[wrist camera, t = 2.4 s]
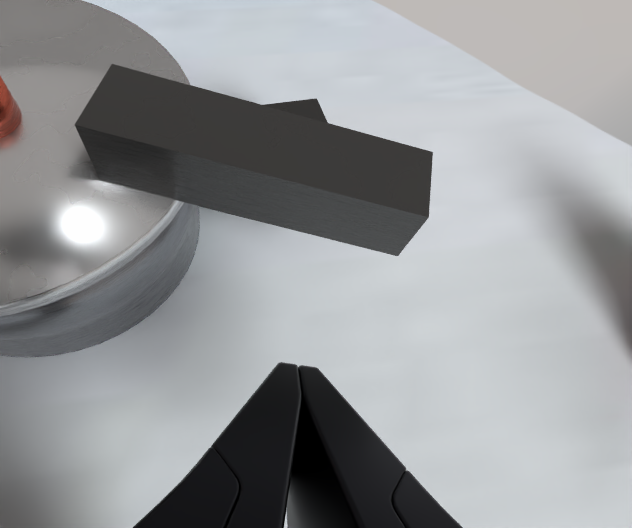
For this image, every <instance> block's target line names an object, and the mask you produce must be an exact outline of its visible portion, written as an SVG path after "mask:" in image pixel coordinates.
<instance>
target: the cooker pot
mask: <svg viewBox="0 0 632 528" xmlns="http://www.w3.org/2000/svg"><path fill="white" fill-rule="evenodd" d="M264 106H267V107H271V108H274V109H278V110H282V111H285V112H289V113H293V114H296V115H300V116H303V117H307V118H311V119H314V120H318V121H322V122H325V123H328V122H327V120H326V118H325V116H324V114H323V111H322V109H321V107H320V105H319V103H318V100H317V99H309V100H300V101H292V102H283V103H275V104H267V105H264ZM199 228H200V222H199V208H198V206H197V205H193V204H189V203H185V202H184V203H183V205H182V206H181V208H180V209H179V211H178V212H177V214H176V215H175V217H174V218H173V219H172V221H171V222H170V224H169V225H168V226H167V227H166V228H165V229H164V230H163V232H162V233H161V234H160V235H159V236H158V237H157V238H156V239H155V240H154V241H153V243H151V244H150V245H149V246H148V247H147V248H146V249H144V250H143V251H142V252H141V253H140V254H139V255H137V256H136V257H135V258H134V259H133V260H132V261H130V262H129V263H127V264H126V265H124V266H123V267H121V268H120V269H118V270H117V271H115V272H114V273H112V274H111V275H109V276H108V277H106V278H104V279H102V280H101V281H99V282H97V283H95V284H93V285H91V286H89V287H87V288H85V289H83V290H82V291H80V292H77V293H75V294H72V295H70V296H67V297H65V298H62V299H60V300H57V301H55V302H52V303H50V304H47V305H44V306H41V307H37V308H34V309H30V310H27V311H23V312H20V313H16V314H12V315H6V316H1V317H0V355H4V356H11V357H41V356H51V355H59V354H64V353H69V352H73V351H78V350H81V349H85V348H88V347H91V346H94V345H97V344H100V343H102V342H104V341H106V340H109V339H111V338H113V337H115V336H118V335H120V334H121V333H123V332H125V331H126V330H128V329H130V328H132V327H133V326H135V325H137V324H138V323H139V322H141V321H142V320H143V319H145V318H146V317H147V316H149V315H150V314H151V313H153V312H154V311H155V310H156V309H157V308H158V307H159V306H160V305H161V304H162V303H163V302H164V301H165V300H166V299H167V298H168V297H169V296H170V295H171V293H172V292H173V291H174V290H175V289H176V287H177V286H178V285H179V283H180V282H181V280H182V278H183V277H184V275H185V274H186V272H187V270H188V268H189V266H190V263H191V261H192V259H193V257H194V253H195V250H196V246H197V243H198V236H199Z"/></svg>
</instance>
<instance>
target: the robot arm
mask: <svg viewBox="0 0 632 528" xmlns="http://www.w3.org/2000/svg"><path fill="white" fill-rule="evenodd" d="M286 507H287V524H288V528H462V527H461V526H460V525H459V524H458V523H457V522H456V521H455V520H454V519H453V518H452V517H451V516H450V515H449V514H448V513H447V512H446V511H445V510H444V509H443V508H442V507H441V506H440V505H439V503H438V502H437V501H436V500H435V499H434V498H433V497H432V496H431V495H430V494H429V493H428V492H427V491H426V489H425V488H424V487H423V486H422V485H421V484H420V483H419V482H418V481H417V479H416V478H415V477H414V476H413V475H412V474H411V473H410V472H409V471H406V467H405V466H404V465H403V464H402V463H401V462H400V461H399V459H398V458H397V457H396V456H395V455H394V454H393V453H392V451H391V450H390V449H389V448H388V447H387V446H386V445H385V444H384V442H383V441H382V440H381V439H380V438H379V437H378V436H377V435H376V433H375V432H374V431H373V430H372V429H371V428H370V427H369V426H368V424H367V423H366V422H365V421H364V420H363V419H362V418H361V416H360V415H359V414H358V413H357V412H356V411H355V410H354V409H353V407H352V406H351V405H350V404H349V403H348V402H347V401H346V400H345V398H344V397H343V396H342V395H341V394H340V393H339V392H338V391H337V389H336V388H335V387H334V386H333V385H332V384H331V383H330V381H329V380H328V379H327V378H326V377H325V376H324V375H323V374H322V372H321V371H320V370H319V369H318V368H316V367H310V366H303V365H301V366H299V367H298V366H297V365H295V364H289V363H283V362H280V363H278V364H277V365H276V367H275V368H274V369H273V370H272V372H271V373H270V374H269V375H268V377H267V378H266V379H265V380H264V382H263V383H262V384H261V385H260V386H259V388H258V389H257V390H256V391H255V393H254V394H253V395H252V396H251V398H250V399H249V400H248V401H247V403H246V404H245V405H244V406H243V407H242V409H241V410H240V411H239V412H238V414H237V415H236V416H235V417H234V419H233V420H232V421H231V422H230V424H229V425H228V426H227V427H226V428H225V430H224V431H223V432H222V433H221V435H220V436H219V437H218V438H217V440H216V441H215V442H214V443H213V445H212V446H211V448H209V449H208V450H207V452H206V453H205V454H204V455H203V457H202V458H201V459H200V460H199V462H198V463H197V464H196V465H195V466H194V467H193V468H192V469H191V471H190V472H189V473H188V474H187V475H186V476H185V477H184V479H183V480H182V481H181V482H180V483H179V484H178V485H177V486H176V487H175V488H174V489H173V490H172V491H171V492H170V493H169V494H168V495H167V496H166V497H165V498H164V499H163V500H162V501H161V502H160V503H159V504H157V505H156V506H155V507H154V508H153V509H152V510H151V511H150V512H149V513H148V514H147V515H146V516H145V517H144V518H142V519H141V520H140V521H139V522H138V523H137V524H136V525H135V526H134V527H133V528H284V521H285V514H286Z"/></svg>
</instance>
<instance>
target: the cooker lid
mask: <svg viewBox="0 0 632 528" xmlns="http://www.w3.org/2000/svg"><path fill="white" fill-rule="evenodd" d="M432 155H433V152H430V151H427V150H423V149H419V148H416V147H412V146H409V145H405V144H401V143H398V142H394V141H390V140H387V139H383V138H380V137H376V136H372V135H369V134H365V133H361V132H358V131H354V130H351V129H347V128H343V127H340V126H336V125H332V124H329V123H325V122H322V121H318V120H314V119H311V118H307V117H303V116H300V115H296V114H293V113H289V112H285V111H282V110H278V109H274V108H271V107H267V106H264V105H260V104H256V103H253V102H249V101H245V100H242V99H238V98H235V97H231V96H227V95H224V94H220V93H216V92H213V91H209V90H206V89H202V88H198V87H195V86H191V85H190V83H189V81H188V79H187V77H186V75H185V74H184V72H183V70H182V69H181V67H180V66H179V64H178V63H177V61H176V60H175V59H174V58H173V57H172V55H171V54H170V53H169V52H168V51H167V49H165V48H164V47H163V46H162V45H161V44H160V43H159V42H158V41H157V40H156V39H155V38H153V37H152V36H151V35H150V34H148V33H147V32H145V31H144V30H143V29H141V28H140V27H138V26H137V25H135V24H134V23H132V22H130V21H128V20H127V19H125V18H123V17H121V16H119V15H118V14H115V13H113V12H111V11H108V10H106V9H104V8H102V7H99V6H97V5H94V4H91V3H88V2H85V1H82V0H0V317H1V316H6V315H12V314H16V313H20V312H23V311H27V310H30V309H34V308H37V307H41V306H44V305H47V304H50V303H52V302H55V301H57V300H60V299H62V298H65V297H67V296H70V295H72V294H75V293H77V292H80V291H82V290H83V289H85V288H87V287H89V286H91V285H93V284H95V283H97V282H99V281H101V280H102V279H104V278H106V277H108V276H109V275H111V274H112V273H114V272H115V271H117V270H118V269H120V268H121V267H123V266H124V265H126V264H127V263H129V262H130V261H132V260H133V259H134V258H135V257H136V256H137V255H139V254H140V253H141V252H142V251H143V250H144V249H146V248H147V247H148V246H149V245H150V244H151V243H153V241H154V240H155V239H156V238H157V237H158V236H159V235H160V234H161V233H162V232H163V230H164V229H165V228H166V227H167V226H168V225H169V224H170V222H171V221H172V219H173V218H174V217H175V215H176V214H177V212H178V211H179V209H180V208H181V206H182V205H183V203H184V202H185V203H189V204H193V205H197V206H201V207H205V208H209V209H213V210H216V211H220V212H224V213H228V214H232V215H236V216H240V217H244V218H248V219H252V220H256V221H260V222H264V223H268V224H272V225H276V226H280V227H284V228H288V229H292V230H296V231H300V232H304V233H308V234H312V235H316V236H320V237H324V238H328V239H332V240H336V241H339V242H343V243H347V244H351V245H355V246H359V247H363V248H367V249H371V250H375V251H379V252H383V253H387V254H391V255H395V256H398V255H399V254H400V253H401V251H402V250H403V249H404V248H405V246H406V245H407V244H408V243H409V241H410V240H411V239H412V238H413V236H414V235H415V234H416V233H417V231H418V230H419V229H420V228H421V226H422V225H423V224H424V223H425V221H426V220H427V219H428V218H429V203H430V187H431V171H432Z"/></svg>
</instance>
